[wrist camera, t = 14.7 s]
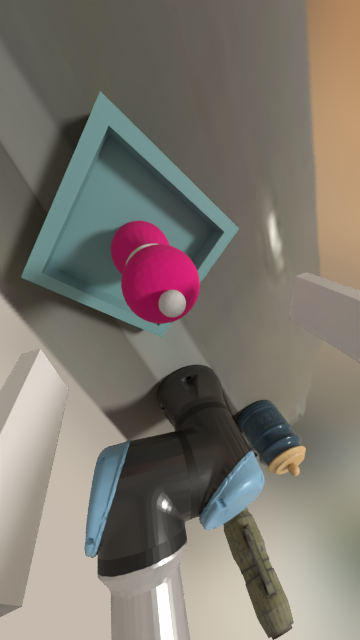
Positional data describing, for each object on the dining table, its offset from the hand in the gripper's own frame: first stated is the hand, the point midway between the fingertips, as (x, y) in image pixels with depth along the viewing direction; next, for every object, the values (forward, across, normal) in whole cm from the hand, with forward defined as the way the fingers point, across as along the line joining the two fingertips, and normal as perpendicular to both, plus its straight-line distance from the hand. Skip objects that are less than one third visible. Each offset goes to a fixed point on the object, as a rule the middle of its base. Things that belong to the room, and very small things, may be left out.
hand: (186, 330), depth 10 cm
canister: (+24, -24, +57) cm, 66 cm away
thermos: (+24, -7, +73) cm, 77 cm away
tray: (+23, 0, 0) cm, 23 cm away
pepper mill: (+22, 0, 0) cm, 22 cm away
